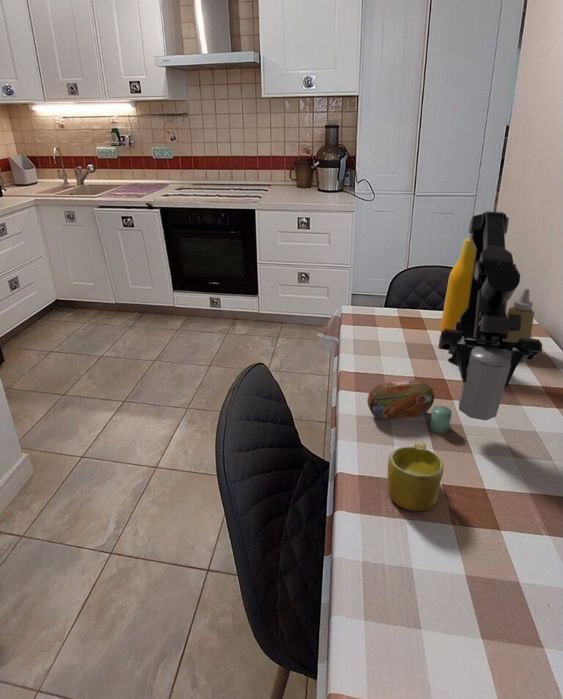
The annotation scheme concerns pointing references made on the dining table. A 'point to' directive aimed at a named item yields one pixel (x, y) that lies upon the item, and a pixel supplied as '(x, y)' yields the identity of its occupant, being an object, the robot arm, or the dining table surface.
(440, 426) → the pale green rounded part
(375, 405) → the tin
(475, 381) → the grey domed canister
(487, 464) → the dining table surface
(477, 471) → the dining table surface
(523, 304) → the squeeze bottle
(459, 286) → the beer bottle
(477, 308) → the robot arm
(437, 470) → the mug
